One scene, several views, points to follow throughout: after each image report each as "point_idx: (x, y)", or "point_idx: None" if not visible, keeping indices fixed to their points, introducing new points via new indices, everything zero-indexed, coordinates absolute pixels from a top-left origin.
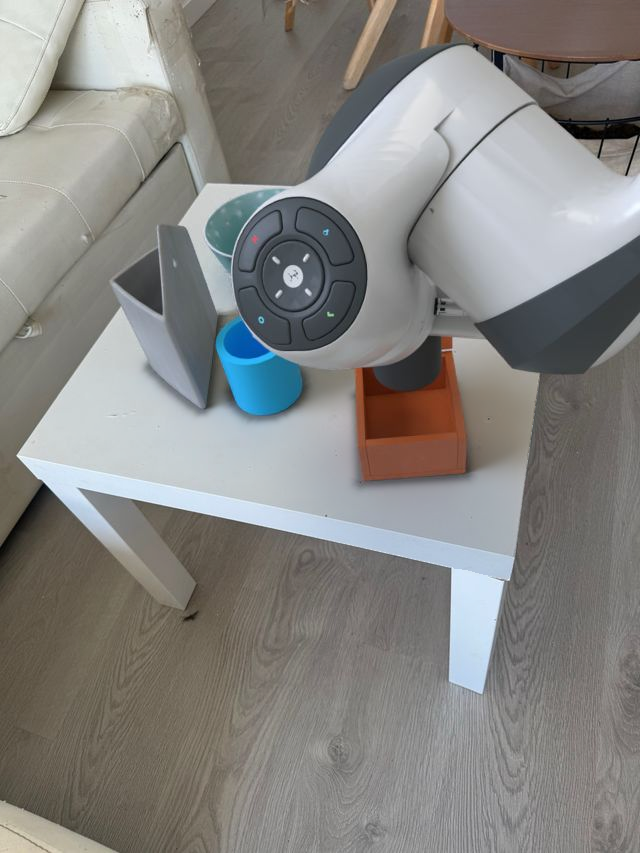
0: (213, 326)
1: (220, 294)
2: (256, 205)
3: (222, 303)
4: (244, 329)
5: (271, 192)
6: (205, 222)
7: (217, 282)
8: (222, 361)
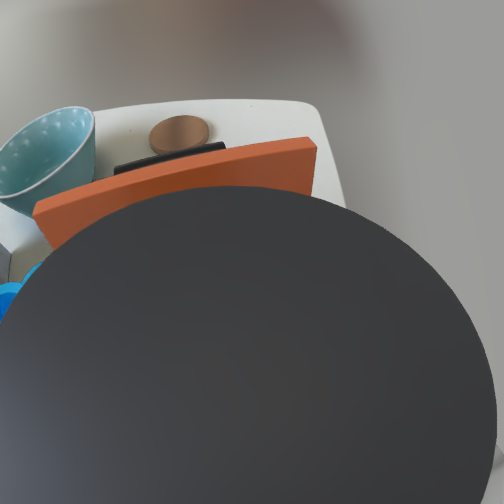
0: (2, 273)
1: (15, 226)
2: (41, 130)
3: (15, 237)
4: (2, 306)
5: (53, 115)
6: None
7: (15, 212)
8: None
